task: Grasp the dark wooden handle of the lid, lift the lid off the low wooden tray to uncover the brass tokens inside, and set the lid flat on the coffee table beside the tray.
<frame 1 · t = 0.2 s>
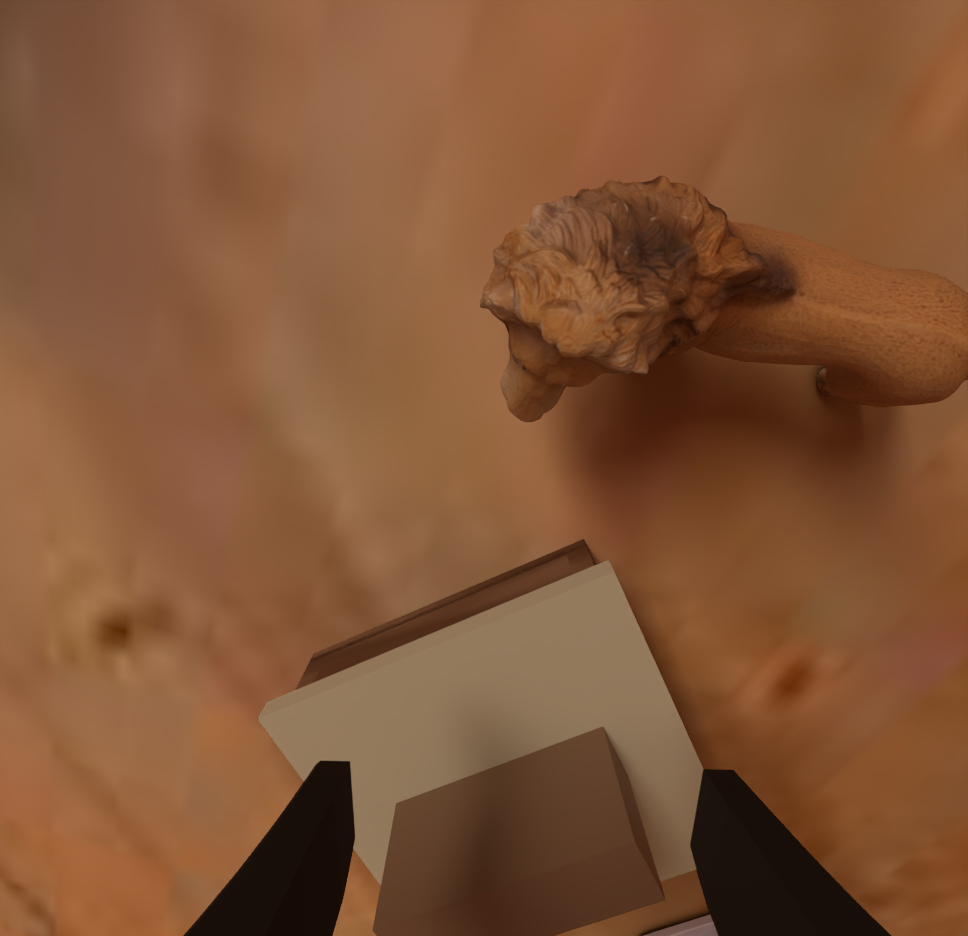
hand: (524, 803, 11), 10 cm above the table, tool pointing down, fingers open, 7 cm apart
lid: (509, 770, 19), point 3 cm above the table, touching wooden tray
wooden tray: (506, 711, 22), on the table
lion figurine: (682, 322, 18), on the table
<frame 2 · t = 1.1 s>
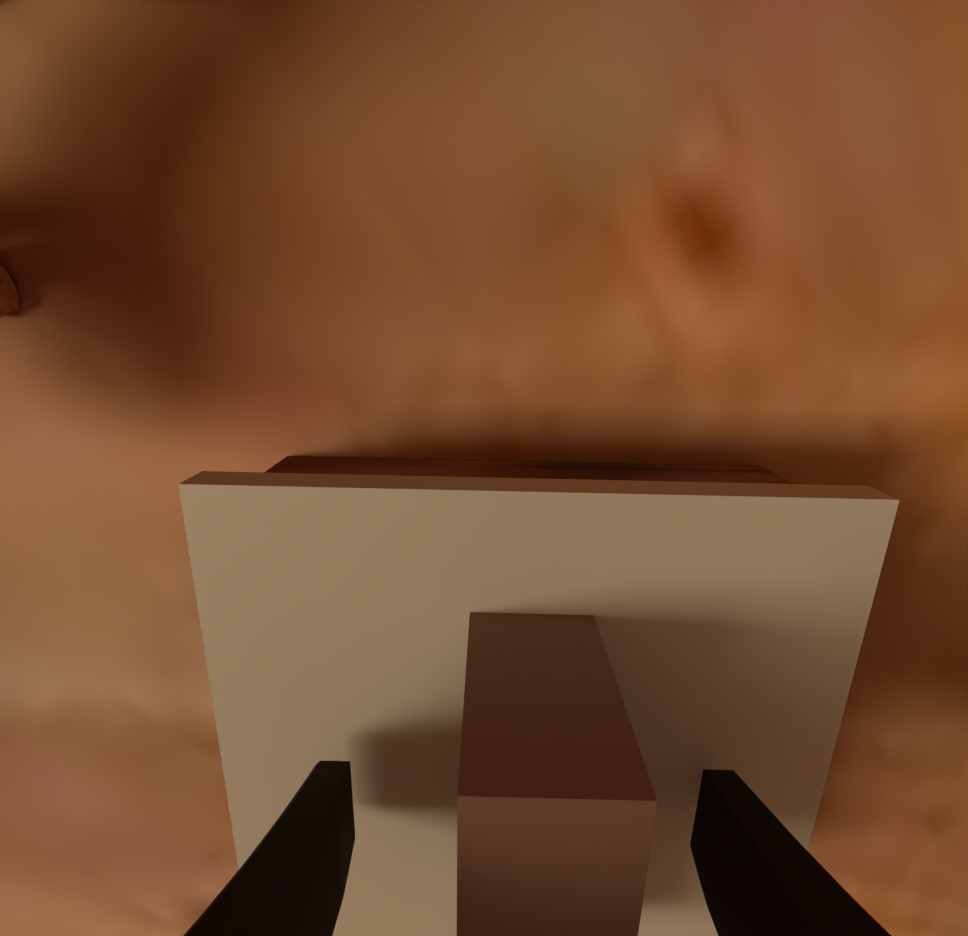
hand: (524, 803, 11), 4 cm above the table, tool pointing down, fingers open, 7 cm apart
lid: (521, 746, 12), point 3 cm above the table, touching wooden tray
wooden tray: (514, 663, 15), on the table
lion figurine: (12, 175, 12), on the table
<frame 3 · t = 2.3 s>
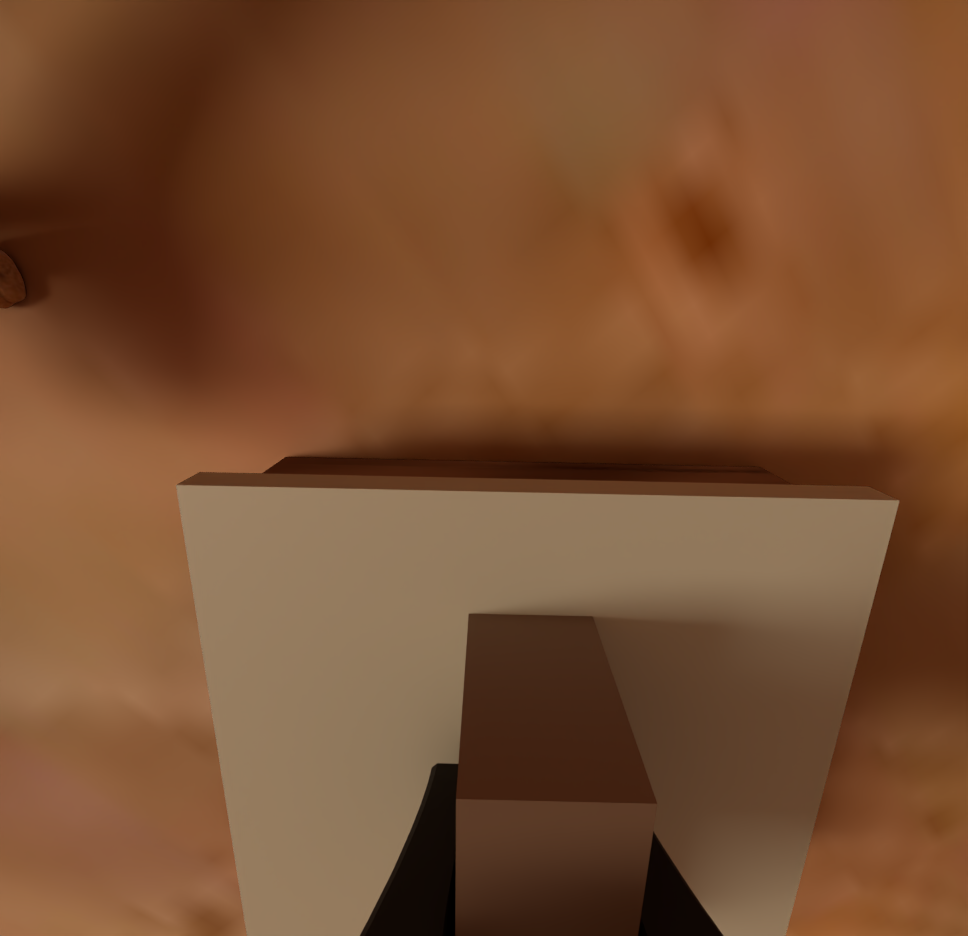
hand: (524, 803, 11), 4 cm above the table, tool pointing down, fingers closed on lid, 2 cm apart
lid: (520, 748, 12), point 3 cm above the table, touching gripper, wooden tray
wooden tray: (514, 663, 15), on the table
lion figurine: (17, 163, 12), on the table
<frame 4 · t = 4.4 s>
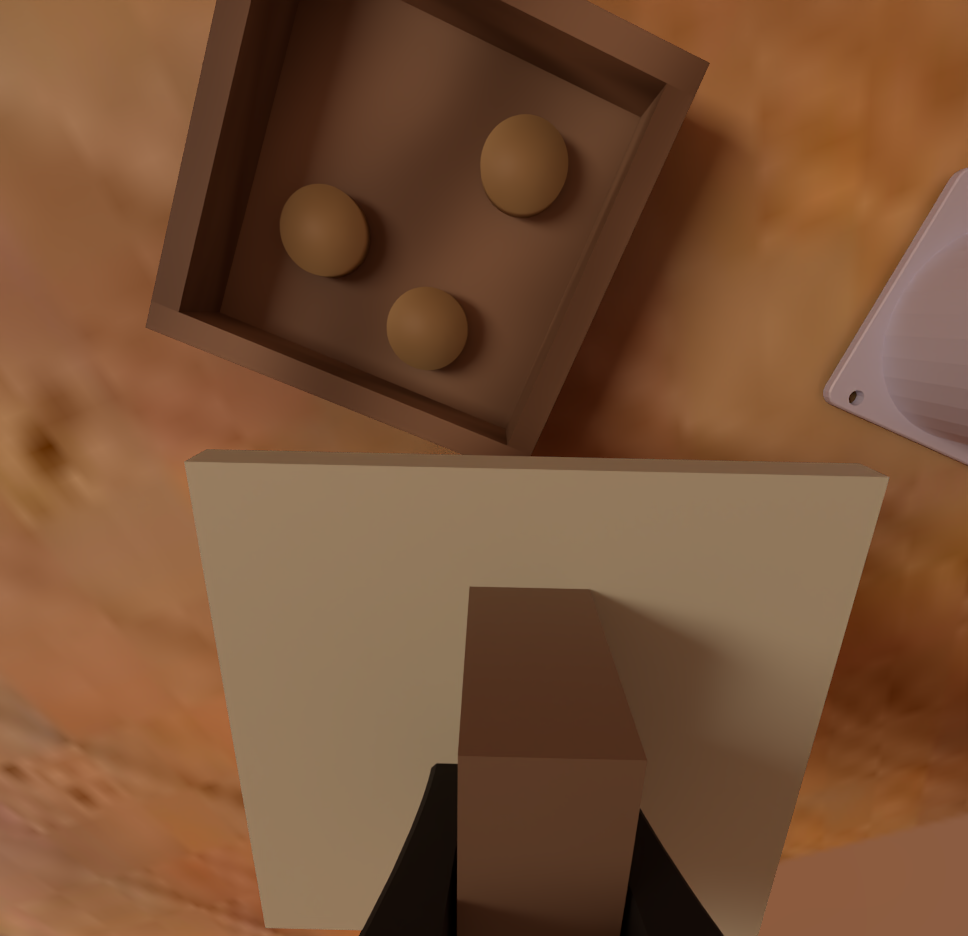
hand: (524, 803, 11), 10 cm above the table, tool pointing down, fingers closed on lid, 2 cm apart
lid: (519, 715, 12), point 8 cm above the table, touching gripper
wooden tray: (421, 223, 17), on the table
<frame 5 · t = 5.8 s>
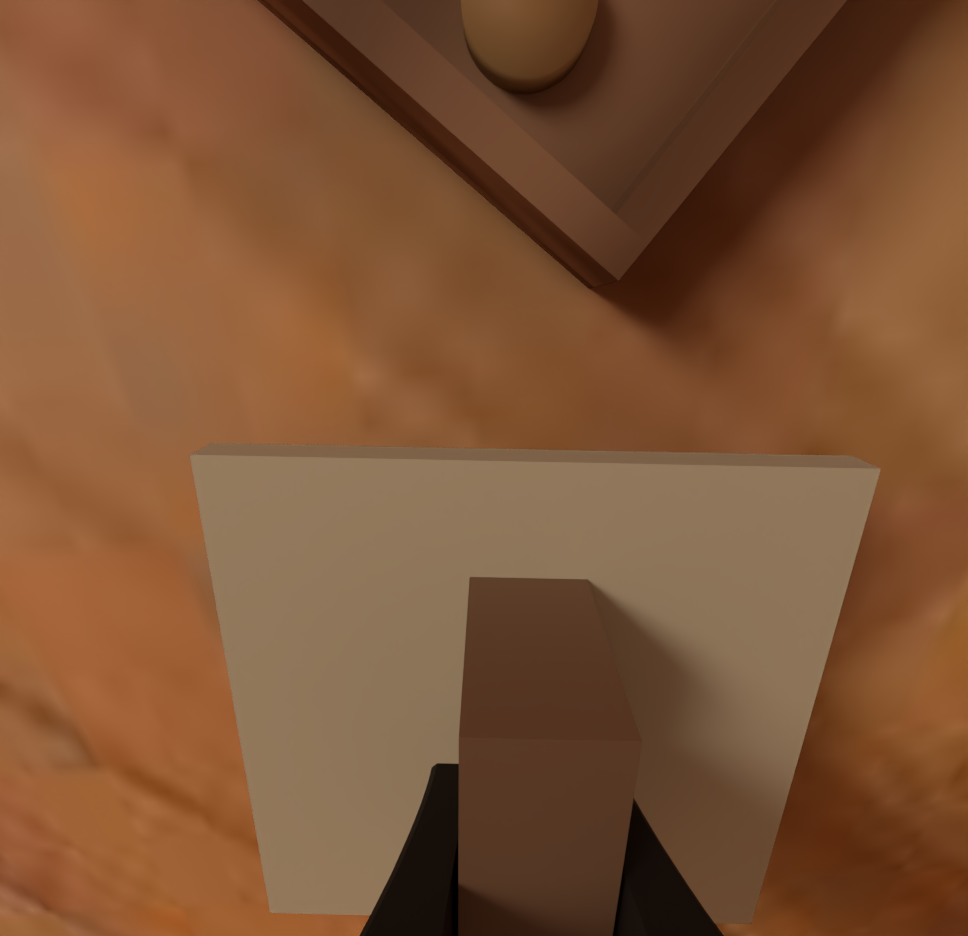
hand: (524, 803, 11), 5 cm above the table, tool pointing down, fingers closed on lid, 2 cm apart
lid: (518, 704, 13), point 3 cm above the table, touching gripper
when the fingers open (4 cm above the table, at t = 6.7 s): lid drops 2 cm, on the table.
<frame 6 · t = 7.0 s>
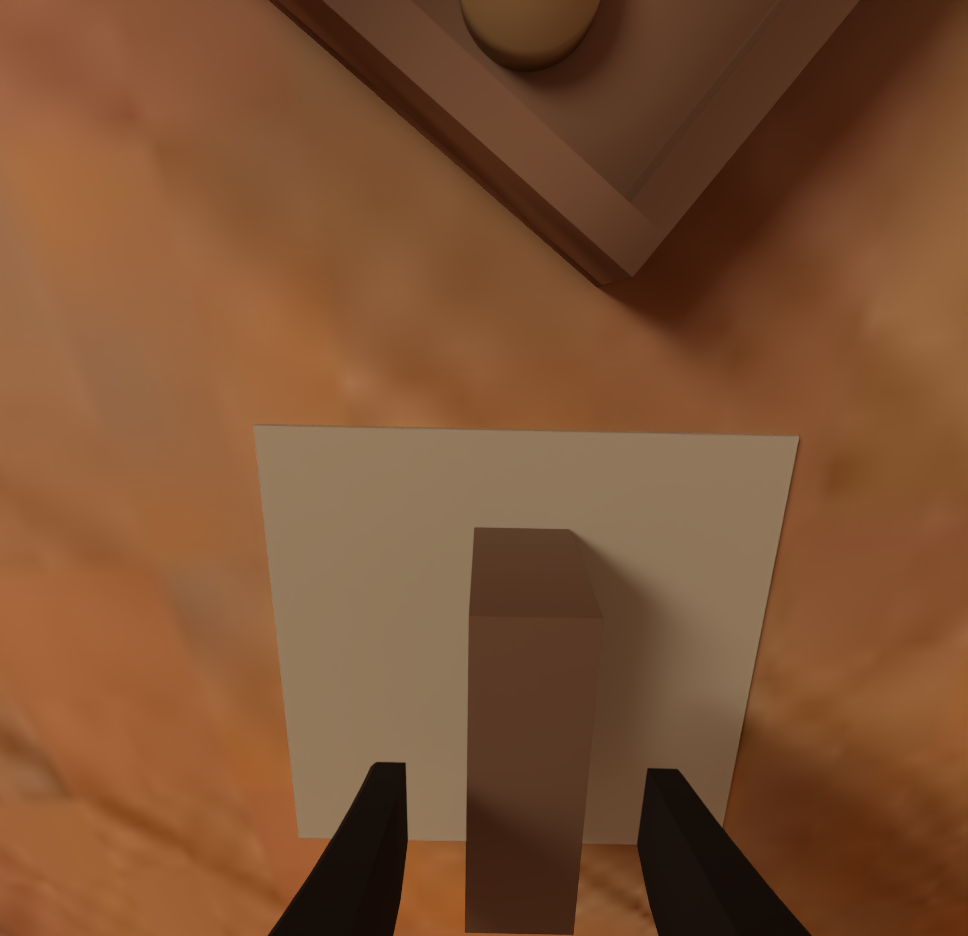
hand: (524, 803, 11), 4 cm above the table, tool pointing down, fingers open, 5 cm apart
lid: (514, 645, 15), on the table
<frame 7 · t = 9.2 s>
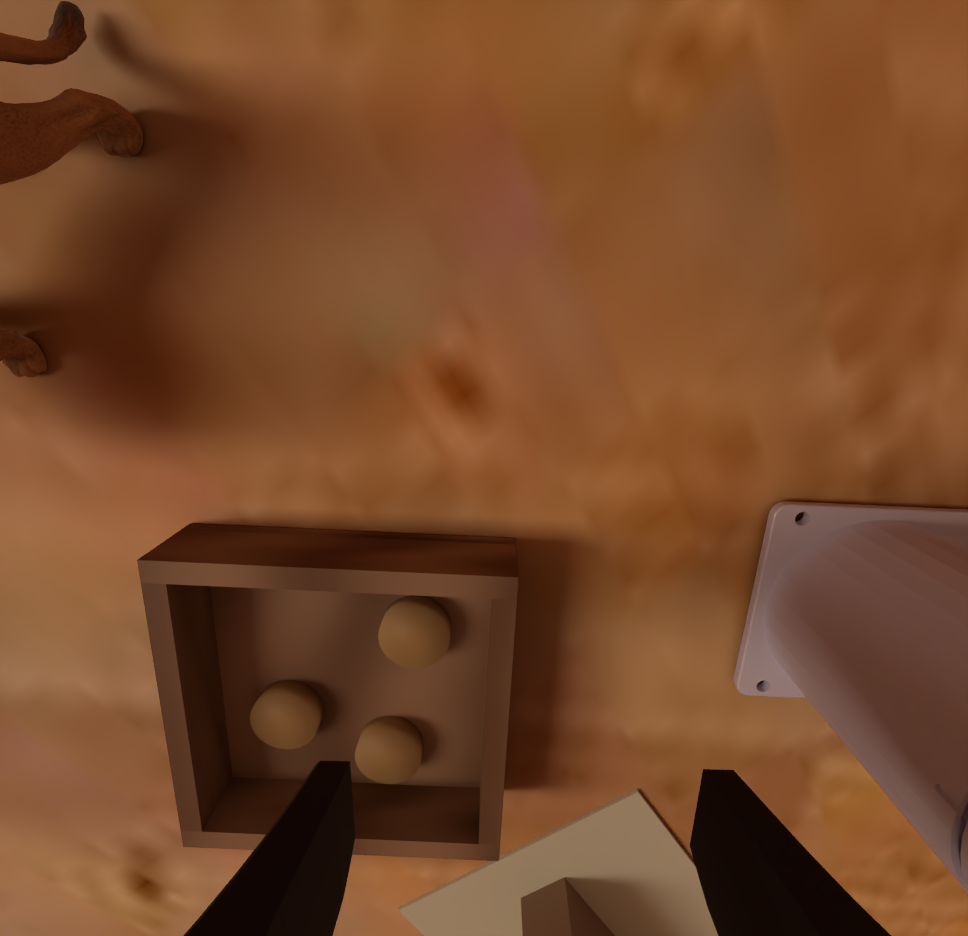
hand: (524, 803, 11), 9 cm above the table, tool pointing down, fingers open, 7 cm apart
lid: (584, 919, 26), on the table
wooden tray: (356, 668, 21), on the table
lion figurine: (39, 280, 17), on the table
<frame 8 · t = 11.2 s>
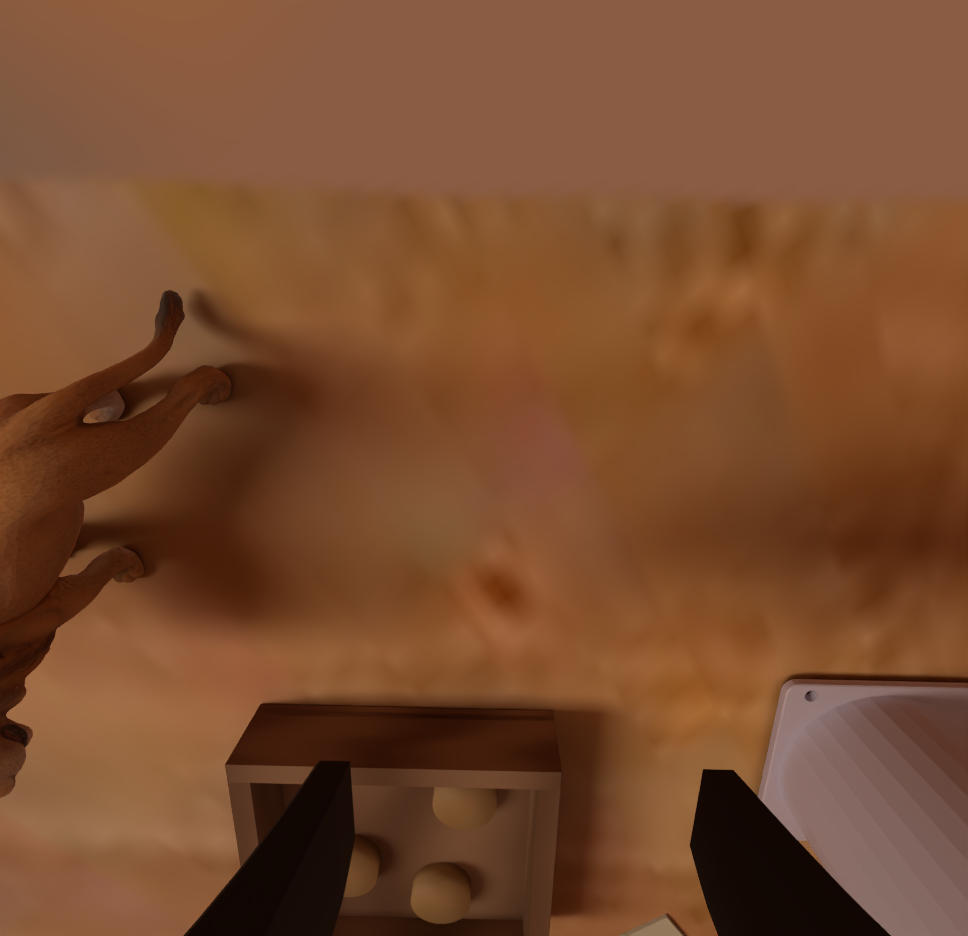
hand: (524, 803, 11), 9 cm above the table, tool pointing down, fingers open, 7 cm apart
wooden tray: (409, 819, 23), on the table
lion figurine: (137, 499, 19), on the table
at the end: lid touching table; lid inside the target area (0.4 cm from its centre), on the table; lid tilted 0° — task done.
